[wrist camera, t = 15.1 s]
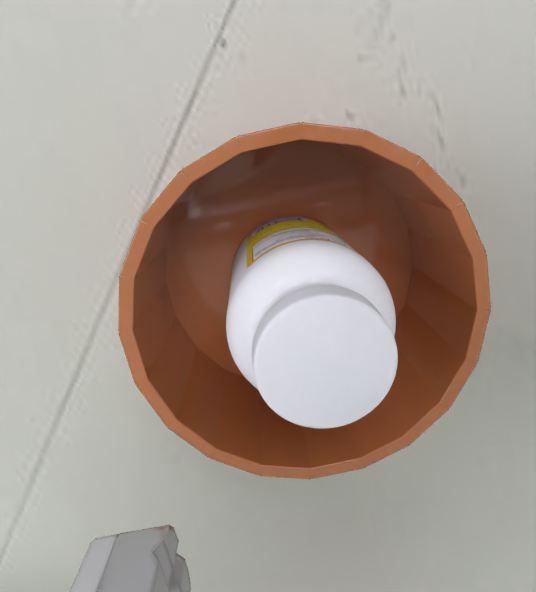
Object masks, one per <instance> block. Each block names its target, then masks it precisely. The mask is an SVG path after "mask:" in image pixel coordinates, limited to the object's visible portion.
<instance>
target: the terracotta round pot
mask: <svg viewBox="0 0 536 592" xmlns="http://www.w3.org/2000/svg"><path fill="white" fill-rule="evenodd" d="M282 216H303V217H307V218H311V219H313V220H316V221H318V222H320V223H322V224H324V225H325V226H327V227H328V228H329V229H331V230H332V231H333V232H334V233H336V234H337V235H338V236H339V237H340V238H341V239H343V240H344V241H345V242H346V243H347V244H348V245H350V246H351V247H352V248H353V249H354V250H355V251H356V252H358V253H359V254H360V255H361V256H363V257H364V258H365V259H366V260H367V261H368V262H369V263H370V264H371V265H372V266H373V267H374V268H375V269H376V270H377V271H378V273H379V274H380V275H381V276H382V278H383V279H384V281H385V283H386V285H387V287H388V289H389V291H390V293H391V296H392V299H393V303H394V307H395V316H396V329H395V335H394V339H395V342H396V346H397V352H398V364H397V370H396V375H395V378H394V381H393V383H392V386H391V388H390V389H389V391H388V393H387V395H386V396H385V397H384V399H383V400H382V401H381V402H380V403H379V404H378V406H377V407H375V408H374V409H373V410H372V411H371V412H369V413H368V414H367V415H365V416H364V417H362V418H360V419H358V420H357V421H355V422H352V423H350V424H347V425H344V426H340V427H334V428H322V429H320V428H311V427H305V426H301V425H297V424H295V423H292V422H290V421H288V420H286V419H284V418H282V417H281V416H279V415H278V414H277V413H275V412H274V411H273V410H272V409H271V408H270V407H269V406H268V405H267V403H266V402H265V401H264V399H263V398H262V396H261V394H260V392H259V390H258V389H257V388H256V387H254V386H253V385H252V384H251V383H250V382H249V381H248V380H247V379H246V378H245V377H244V375H243V374H242V373H241V371H240V370H239V368H238V367H237V365H236V363H235V361H234V359H233V357H232V355H231V352H230V349H229V345H228V341H227V333H226V315H227V308H228V300H229V292H230V281H231V271H232V266H233V261H234V257H235V255H236V252H237V250H238V248H239V246H240V244H241V243H242V241H243V240H244V239H245V237H246V236H247V235H248V234H249V233H250V232H251V231H252V230H253V229H255V228H256V227H257V226H259V225H261V224H262V223H264V222H266V221H268V220H271V219H274V218H277V217H282ZM490 309H491V303H490V291H489V278H488V266H487V255H486V251H485V249H484V246H483V244H482V242H481V240H480V237H479V235H478V233H477V231H476V228H475V226H474V224H473V222H472V219H471V217H470V215H469V213H468V210H467V208H466V206H465V204H464V202H463V201H462V199H461V198H460V197H459V196H458V195H457V194H456V193H455V192H454V191H453V189H452V188H451V187H450V186H449V185H448V184H447V183H446V182H445V181H444V180H443V179H442V178H441V177H440V176H439V175H438V174H437V173H436V172H435V171H434V170H433V169H432V168H431V167H430V166H429V165H428V164H427V163H426V162H425V160H424V159H423V158H421V157H420V156H418V155H416V154H414V153H412V152H410V151H408V150H406V149H404V148H402V147H400V146H398V145H396V144H394V143H391V142H389V141H387V140H385V139H383V138H381V137H379V136H377V135H375V134H373V133H371V132H369V131H367V130H363V129H356V128H348V127H339V126H330V125H322V124H313V123H304V122H302V123H299V122H298V123H294V124H289V125H285V126H280V127H276V128H271V129H267V130H262V131H258V132H253V133H249V134H244V135H240V136H237V138H236V137H234V138H232V139H231V140H229V141H228V142H226V143H224V144H223V145H221V146H219V147H218V148H216V149H214V150H213V151H211V152H210V153H208V154H206V155H205V156H203V157H201V158H200V159H198V160H196V161H195V162H193V163H192V164H190V165H188V166H187V167H185V168H183V169H182V170H181V171H179V173H178V174H177V175H176V176H175V177H174V179H173V180H172V181H171V182H170V184H169V185H168V186H167V187H166V188H165V190H164V191H163V192H162V193H161V194H160V196H159V197H158V198H157V199H156V200H155V202H154V203H153V204H152V205H151V206H150V208H149V209H148V210H147V211H146V213H145V214H144V215H143V216H142V217H141V220H140V221H139V224H138V227H137V229H136V232H135V235H134V237H133V240H132V243H131V245H130V248H129V251H128V253H127V256H126V259H125V262H124V264H123V267H122V270H121V272H120V277H119V325H118V331H119V336H120V339H121V342H122V345H123V348H124V351H125V354H126V358H127V361H128V364H129V367H130V370H131V373H132V376H133V379H134V382H135V384H136V386H137V387H138V389H139V390H140V391H141V393H142V394H143V395H144V397H145V398H146V399H147V401H148V402H149V403H150V405H151V406H152V408H153V409H154V410H155V412H156V413H157V414H158V416H159V417H160V418H161V420H162V421H163V422H164V424H165V425H166V426H167V427H168V428H169V429H170V430H171V431H173V432H174V433H176V434H177V435H178V436H180V437H181V438H182V439H184V440H185V441H187V442H188V443H189V444H191V445H192V446H193V447H195V448H196V449H198V450H199V451H200V452H202V453H203V454H204V455H206V456H207V457H209V458H211V459H213V460H216V461H219V462H222V463H224V464H227V465H230V466H233V467H236V468H239V469H241V470H244V471H247V472H250V473H253V474H256V475H259V476H269V477H284V478H300V479H311V478H312V479H314V478H319V477H324V476H328V475H333V474H338V473H343V472H348V471H353V470H358V469H362V468H365V467H367V466H369V465H371V464H373V463H375V462H377V461H379V460H381V459H383V458H385V457H387V456H389V455H391V454H393V453H395V452H397V451H399V450H401V449H403V448H405V447H407V446H409V445H410V444H411V443H412V442H414V441H415V440H416V439H417V438H418V437H419V436H420V435H421V434H422V433H423V432H424V431H426V430H427V429H428V428H429V427H430V426H431V425H432V424H433V423H434V422H435V421H436V420H438V419H439V418H440V417H441V416H442V415H443V414H444V413H445V412H446V411H447V410H449V408H450V407H451V406H452V404H453V402H454V401H455V399H456V397H457V396H458V394H459V392H460V391H461V389H462V387H463V386H464V384H465V382H466V381H467V379H468V378H469V376H470V374H471V373H472V371H473V369H474V368H475V366H476V364H477V362H478V359H479V355H480V351H481V347H482V343H483V339H484V335H485V331H486V327H487V323H488V319H489V315H490V311H491V310H490Z"/></svg>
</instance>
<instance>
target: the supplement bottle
mask: <svg viewBox="0 0 536 592" xmlns="http://www.w3.org/2000/svg"><path fill="white" fill-rule="evenodd" d="M395 329H396V316H395V307H394V303H393V299H392V296H391V293H390V291H389V289H388V287H387V285H386V283H385V281H384V279H383V278H382V276H381V275H380V274H379V273H378V271H377V270H376V269H375V268H374V267H373V266H372V265H371V264H370V263H369V262H368V261H367V260H366V259H365V258H364V257H363V256H361V255H360V254H359V253H358V252H356V251H355V250H354V249H353V248H352V247H351V246H350V245H348V244H347V243H346V242H345V241H344V240H343V239H341V238H340V237H339V236H338V235H337V234H336V233H334V232H333V231H332V230H331V229H329V228H328V227H327V226H325V225H324V224H322V223H320V222H318V221H316V220H313V219H311V218H307V217H303V216H282V217H277V218H274V219H271V220H268V221H266V222H264V223H262V224H261V225H259V226H257V227H256V228H255V229H253V230H252V231H251V232H250V233H249V234H248V235H247V236H246V237H245V239H244V240H243V241H242V243H241V244H240V246H239V248H238V250H237V252H236V255H235V257H234V261H233V266H232V271H231V281H230V292H229V300H228V308H227V315H226V333H227V341H228V345H229V349H230V352H231V355H232V357H233V359H234V361H235V363H236V365H237V367H238V368H239V370H240V371H241V373H242V374H243V375H244V377H245V378H246V379H247V380H248V381H249V382H250V383H251V384H252V385H253V386H254V387H256V388H257V389H258V390H259V392H260V394H261V396H262V398H263V399H264V401H265V402H266V403H267V405H268V406H269V407H270V408H271V409H272V410H273V411H274V412H275V413H277V414H278V415H279V416H281V417H282V418H284V419H286V420H288V421H290V422H292V423H295V424H297V425H301V426H305V427H311V428H320V429H322V428H334V427H340V426H344V425H347V424H350V423H352V422H355V421H357V420H358V419H360V418H362V417H364V416H365V415H367V414H368V413H369V412H371V411H372V410H373V409H374V408H375V407H377V406H378V404H379V403H380V402H381V401H382V400H383V399H384V397H385V396H386V395H387V393H388V391H389V389H390V388H391V386H392V383H393V381H394V378H395V375H396V370H397V364H398V352H397V346H396V342H395V339H394V335H395Z"/></svg>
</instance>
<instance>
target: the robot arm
mask: <svg viewBox="0 0 536 592" xmlns="http://www.w3.org/2000/svg"><path fill="white" fill-rule="evenodd" d="M178 542H179V540H178V538H177V535H176V532H175V530H174V527H172V526H170V525H166V526H160V527H154V528H149V529H143V530H137V531H131V532H125V533H121V534H116V535H111V536H105V537H99V538H95V539H94V540H93V541H92V542H91V543H90V545H89V547H88V549H87V552H86V554H85V556H84V559H83V561H82V564H81V566H80V568H79V571H78V573H77V576H76V578H75V580H74V583H73V585H72V587H71V590H70V592H191V587H190V577H189V572H188V567H187V564H186V561H185V559H184V558H183V557H181V556H180V555H179V554H177V547H178Z"/></svg>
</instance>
